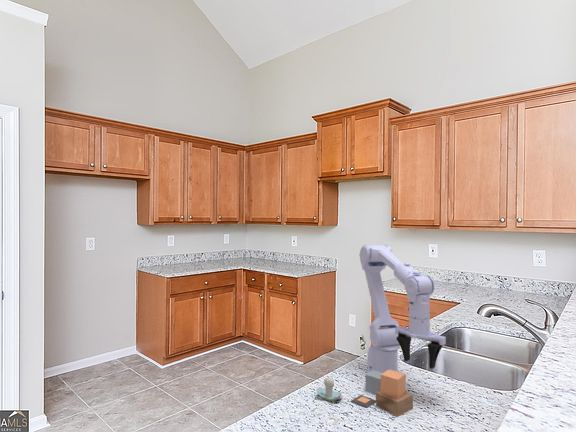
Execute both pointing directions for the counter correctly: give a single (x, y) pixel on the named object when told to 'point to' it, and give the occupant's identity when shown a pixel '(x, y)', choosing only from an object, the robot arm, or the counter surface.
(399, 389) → the terracotta block
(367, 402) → the card
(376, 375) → the slate block
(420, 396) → the counter surface
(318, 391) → the pacifier
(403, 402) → the walnut block
